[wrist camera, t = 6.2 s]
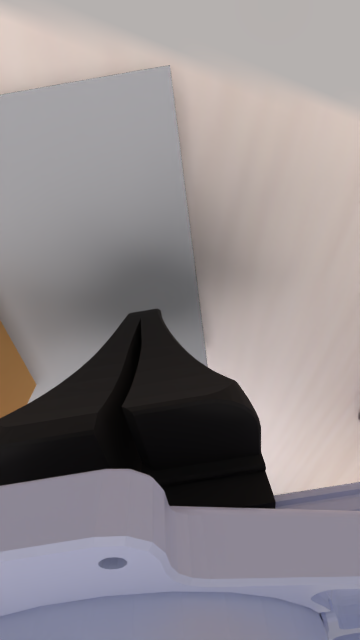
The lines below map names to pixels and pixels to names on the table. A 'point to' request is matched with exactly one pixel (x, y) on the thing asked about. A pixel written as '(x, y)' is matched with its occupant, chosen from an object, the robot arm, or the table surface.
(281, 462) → the table surface
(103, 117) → the dock
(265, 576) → the robot arm
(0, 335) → the chock
